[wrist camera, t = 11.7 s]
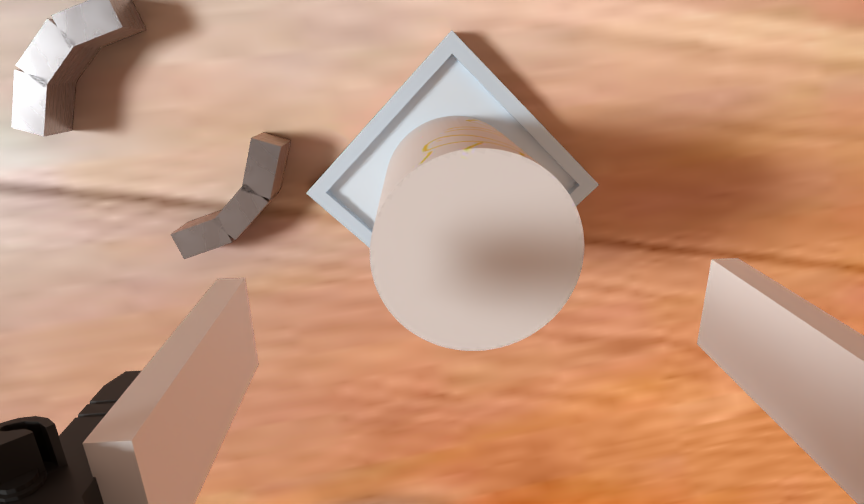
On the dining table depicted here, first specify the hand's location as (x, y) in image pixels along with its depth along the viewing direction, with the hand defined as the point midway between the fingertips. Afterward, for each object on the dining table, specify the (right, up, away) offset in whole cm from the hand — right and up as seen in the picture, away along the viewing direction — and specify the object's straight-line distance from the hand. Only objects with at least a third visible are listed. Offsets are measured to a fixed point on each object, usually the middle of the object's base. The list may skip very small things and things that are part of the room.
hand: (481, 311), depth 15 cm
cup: (0, +6, +17) cm, 18 cm away
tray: (0, +6, +17) cm, 18 cm away
